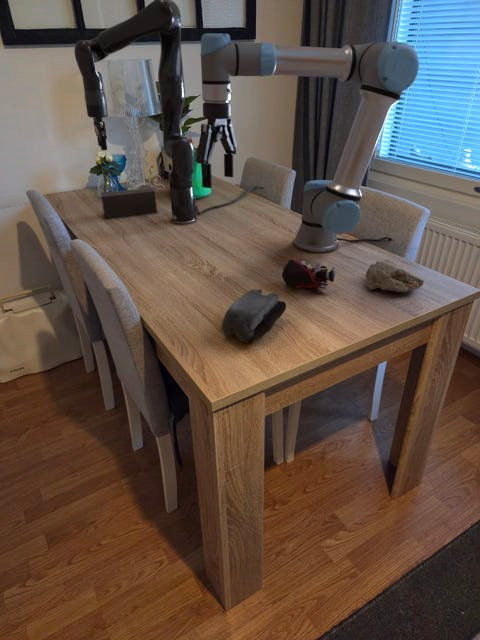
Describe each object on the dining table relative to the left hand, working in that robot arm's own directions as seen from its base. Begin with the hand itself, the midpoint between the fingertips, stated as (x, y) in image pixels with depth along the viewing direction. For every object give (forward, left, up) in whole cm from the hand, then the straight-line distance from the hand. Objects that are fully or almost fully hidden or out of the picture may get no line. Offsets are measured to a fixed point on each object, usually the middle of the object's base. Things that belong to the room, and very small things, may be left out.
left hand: (102, 148), depth 176 cm
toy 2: (+2, +100, -28) cm, 104 cm away
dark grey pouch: (+29, +102, -28) cm, 110 cm away
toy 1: (-43, +3, -28) cm, 51 cm away
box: (-7, +4, -28) cm, 29 cm away
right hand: (+9, +71, +1) cm, 71 cm away
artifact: (-17, +117, -28) cm, 121 cm away
